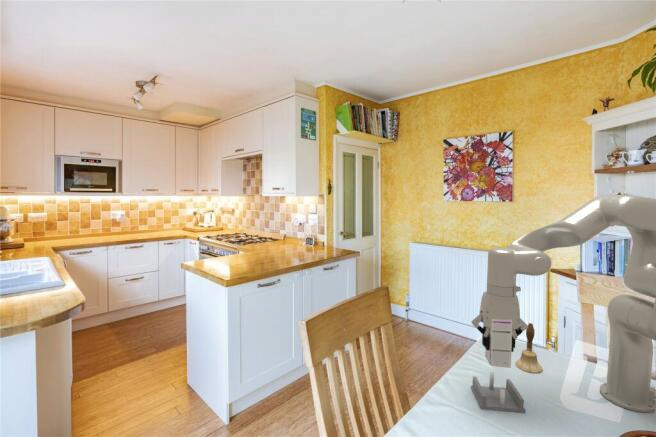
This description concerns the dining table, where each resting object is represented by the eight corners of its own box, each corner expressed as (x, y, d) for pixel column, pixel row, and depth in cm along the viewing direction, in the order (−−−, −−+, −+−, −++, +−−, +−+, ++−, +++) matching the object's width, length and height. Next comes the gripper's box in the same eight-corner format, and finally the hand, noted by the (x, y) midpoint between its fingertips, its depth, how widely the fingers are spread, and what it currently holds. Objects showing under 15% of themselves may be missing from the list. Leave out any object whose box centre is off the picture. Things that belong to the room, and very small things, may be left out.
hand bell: (510, 360, 120) (512, 319, 119) (533, 361, 120) (535, 319, 118) (523, 373, 112) (525, 328, 110) (547, 373, 111) (550, 329, 110)
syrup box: (511, 368, 93) (514, 319, 92) (489, 366, 95) (491, 318, 93) (504, 358, 99) (507, 312, 98) (484, 356, 100) (486, 310, 99)
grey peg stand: (510, 391, 102) (511, 373, 101) (525, 413, 92) (526, 393, 91) (470, 388, 104) (471, 370, 103) (480, 409, 94) (481, 389, 93)
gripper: (526, 287, 97) (523, 344, 99) (466, 285, 100) (464, 341, 101) (539, 295, 90) (535, 357, 91) (473, 292, 92) (471, 353, 94)
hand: (498, 348), depth 96 cm, fingers closed on syrup box, 6 cm apart
